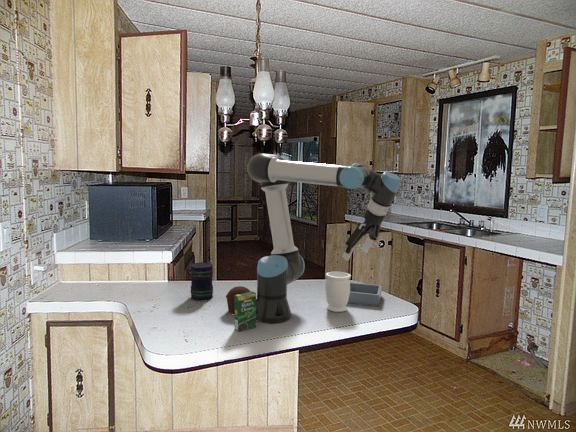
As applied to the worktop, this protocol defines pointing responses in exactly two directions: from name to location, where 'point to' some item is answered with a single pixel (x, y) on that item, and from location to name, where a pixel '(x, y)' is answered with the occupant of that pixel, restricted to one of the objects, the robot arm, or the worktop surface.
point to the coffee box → (245, 311)
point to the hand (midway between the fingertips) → (354, 254)
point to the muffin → (231, 296)
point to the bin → (364, 294)
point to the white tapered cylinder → (337, 290)
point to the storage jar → (201, 281)
